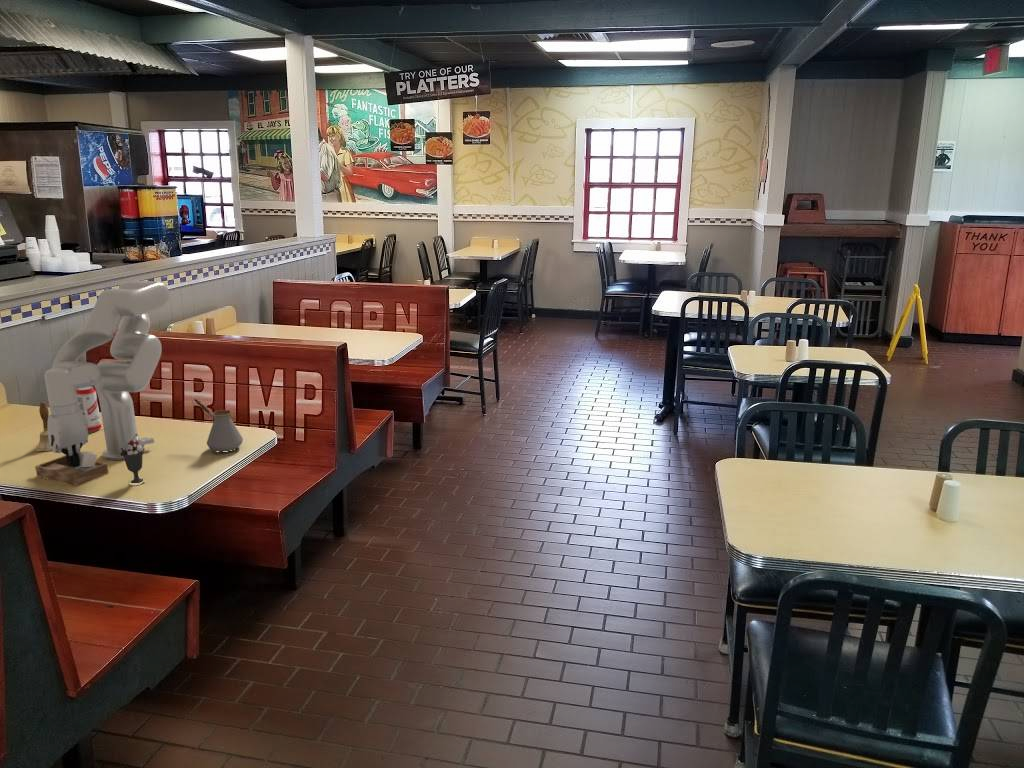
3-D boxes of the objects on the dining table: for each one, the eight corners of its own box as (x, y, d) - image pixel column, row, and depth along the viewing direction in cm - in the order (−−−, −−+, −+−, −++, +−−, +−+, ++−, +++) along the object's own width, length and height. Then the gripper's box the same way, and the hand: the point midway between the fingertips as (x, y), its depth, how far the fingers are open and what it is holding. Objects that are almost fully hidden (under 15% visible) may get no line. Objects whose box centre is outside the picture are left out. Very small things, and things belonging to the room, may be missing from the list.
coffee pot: (250, 447, 260) (246, 405, 256) (220, 457, 251) (216, 414, 247) (213, 434, 272) (209, 394, 268) (183, 444, 263) (178, 402, 259)
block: (74, 464, 236) (76, 451, 236) (86, 464, 240) (89, 451, 240) (82, 466, 234) (84, 454, 234) (94, 466, 238) (96, 454, 238)
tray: (37, 475, 237) (35, 466, 236) (70, 463, 246) (68, 454, 245) (75, 486, 229) (74, 476, 228) (108, 473, 239) (106, 463, 238)
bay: (75, 474, 237) (74, 468, 237) (89, 469, 241) (88, 463, 241) (86, 477, 235) (85, 471, 235) (99, 472, 239) (98, 465, 239)
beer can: (78, 432, 274) (70, 389, 270) (92, 426, 280) (85, 384, 276) (92, 433, 273) (85, 390, 268) (105, 428, 278) (99, 385, 274)
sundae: (152, 477, 235) (146, 431, 231) (143, 486, 229) (136, 439, 224) (131, 478, 235) (124, 432, 231) (121, 487, 228) (113, 440, 224)
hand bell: (47, 442, 264) (39, 398, 260) (69, 443, 263) (61, 399, 259) (29, 451, 256) (21, 405, 252) (52, 452, 255) (43, 407, 251)
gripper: (79, 400, 237) (88, 455, 242) (32, 414, 224) (42, 472, 229) (95, 403, 234) (104, 459, 239) (49, 417, 221) (59, 476, 226)
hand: (74, 465), depth 234 cm, fingers closed
